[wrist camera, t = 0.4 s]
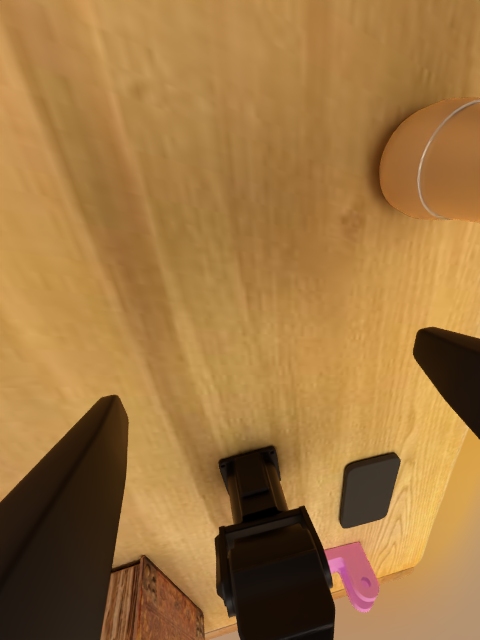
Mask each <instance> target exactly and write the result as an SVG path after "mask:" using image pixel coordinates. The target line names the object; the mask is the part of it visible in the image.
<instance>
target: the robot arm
mask: <svg viewBox="0 0 480 640" xmlns="http://www.w3.org/2000/svg"><path fill="white" fill-rule="evenodd" d="M413 355H414V358H415V360H416V361H417V363H418V364H419V365H420V367H421V368H422V369H423V371H424V372H425V374H426V375H427V376H428V378H429V379H430V380H431V382H432V383H433V384H434V386H435V387H436V389H437V390H438V391H439V393H440V394H441V395H442V397H443V398H444V399H445V400H446V402H447V403H448V404H449V405H450V406H451V408H452V409H453V410H454V411H455V412H456V413H457V414H458V415H459V417H460V418H461V419H462V420H463V421H464V422H465V423H466V425H467V426H468V427H469V428H470V429H471V430H472V431H473V432H474V433H475V435H476V436H477V437H478V438H479V439H480V339H479V338H475V337H471V336H467V335H463V334H460V333H456V332H452V331H448V330H444V329H440V328H436V327H428V328H423V329H420V330H419V331H418V332H417V334H416V339H415V344H414V348H413ZM128 424H129V422H128V416H127V413H126V411H125V409H124V407H123V404H122V402H121V400H120V398H119V397H118V395H110V396H106V397H102V398H100V399H99V400H98V401H97V402H96V403H95V404H94V405H93V407H92V408H91V409H90V410H89V411H88V412H87V413H86V414H85V415H84V416H83V417H82V418H81V419H80V420H79V421H78V422H77V423H76V424H75V425H74V426H73V427H72V428H71V429H70V430H69V431H68V432H67V434H66V435H65V436H64V437H63V438H62V439H61V440H60V441H59V442H58V443H57V444H56V445H55V446H54V447H53V448H52V449H51V450H50V451H49V452H48V453H47V454H46V455H45V456H44V457H43V458H42V460H41V461H40V462H39V463H38V464H37V465H36V466H35V467H34V468H33V469H32V470H31V471H30V472H29V473H28V474H27V475H26V476H25V477H24V478H23V479H22V480H21V481H20V482H19V483H18V484H17V485H16V487H15V488H14V489H13V490H12V491H11V492H10V493H9V494H8V495H7V496H6V497H5V498H4V499H3V500H2V501H1V502H0V640H100V639H101V633H102V627H103V621H104V614H105V608H106V602H107V595H108V589H109V583H110V576H111V570H112V564H113V557H114V551H115V545H116V538H117V532H118V526H119V519H120V513H121V507H122V500H123V494H124V488H125V480H126V469H127V447H128ZM219 469H220V472H221V475H222V477H223V480H224V483H225V486H226V489H227V492H228V494H229V496H230V503H231V510H232V516H233V523H234V525H230V526H226V527H225V526H221V527H219V535H218V536H217V537H216V538H215V549H216V589H217V594H218V595H219V596H220V597H221V598H222V599H223V600H224V604H225V606H227V612H228V616H229V618H230V617H233V616H236V619H237V626H238V633H239V637H240V640H333V638H334V621H335V605H334V602H333V598H332V595H331V592H330V588H332V587H333V582H332V576H331V572H330V568H329V564H328V561H327V557H326V554H325V552H324V549H323V546H322V544H321V542H320V539H319V537H318V535H317V533H316V530H315V528H314V526H313V524H312V521H311V519H310V517H309V515H308V513H307V510H306V508H305V506H300V507H299V508H296V509H293V510H288V507H287V503H286V500H285V497H284V494H283V491H282V487H281V484H280V481H281V477H280V472H279V466H278V460H277V454H276V450H275V447H268V448H264V449H260V450H257V451H253V452H249V453H246V454H242V455H239V456H235V457H231V458H228V459H224V460H221V461H219Z"/></svg>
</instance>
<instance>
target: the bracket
mask: <svg viewBox="0 0 480 640" xmlns="http://www.w3.org/2000/svg"><path fill="white" fill-rule="evenodd" d="M324 552H325V554H326V557H327V561H328V564H329V568H330V572H331V573H335V572H338V573H339V574H340V576H341V579H342V582H343V584H344V587H345V589H346V592H347V595H348V597H349V600H350V602H351V604H352V605H353V606H354V608H356V609H357V610H358V611H360V612H368V611H369V610H370V609H371V607H372V605H373V603H374V600H375V599H376V597H377V595H378V593H379V583H378V580H377V578H376V576H375V574H374V572H373V570H372V567H371V565H370V563H369V561H368V559H367V557H366V555H365V552H364V550H363V548H362V546H361V544H360V542H356V543H352V544H348V545H344V546H340V547H336V548H332V549H328V550H324Z"/></svg>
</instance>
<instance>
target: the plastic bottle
mask: <svg viewBox="0 0 480 640" xmlns="http://www.w3.org/2000/svg"><path fill="white" fill-rule="evenodd" d="M379 178H380V186H381V189H382V193H383V195H384V197H385V198H386V200H387V201H388V203H389V204H390V205H391V206H392V207H394V208H396V209H397V210H399V211H401V212H403V213H404V214H406V215H408V216H410V217H414V218H417V219H430V220H453V219H455V220H464V221H472V222H480V98H475V97H472V98H451V99H444V100H442V101H439V102H437V103H434V104H432V105H430V106H428V107H425V108H423V109H421V110H419V111H417V112H415V113H414V114H412V115H411V116H409V117H408V118H407V119H406V120H404V121H403V122H402V123H401V124H400V125H399V126H398V128H397V129H396V130H395V132H394V133H393V134H392V136H391V138H390V139H389V141H388V143H387V145H386V147H385V149H384V152H383V154H382V157H381V162H380V168H379Z"/></svg>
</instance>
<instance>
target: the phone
mask: <svg viewBox="0 0 480 640" xmlns="http://www.w3.org/2000/svg"><path fill="white" fill-rule="evenodd" d="M400 462H401V460H400V458H399V457H398V456H397V455H396V454H388V455H384V456H380V457H376V458H372V459H368V460H364V461H360V462H356V463H353V464H351V465H349V466H348V467H347V468H346V470H345V477H344V486H343V495H342V504H341V513H340V524H341V526H342V528H351V527H354V526H358V525H362V524H366V523H369V522H373V521H377V520H380V519H382V518H384V517H385V516H386V515H387V512H388V508H389V505H390V501H391V497H392V493H393V489H394V485H395V482H396V478H397V474H398V470H399V466H400Z"/></svg>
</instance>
